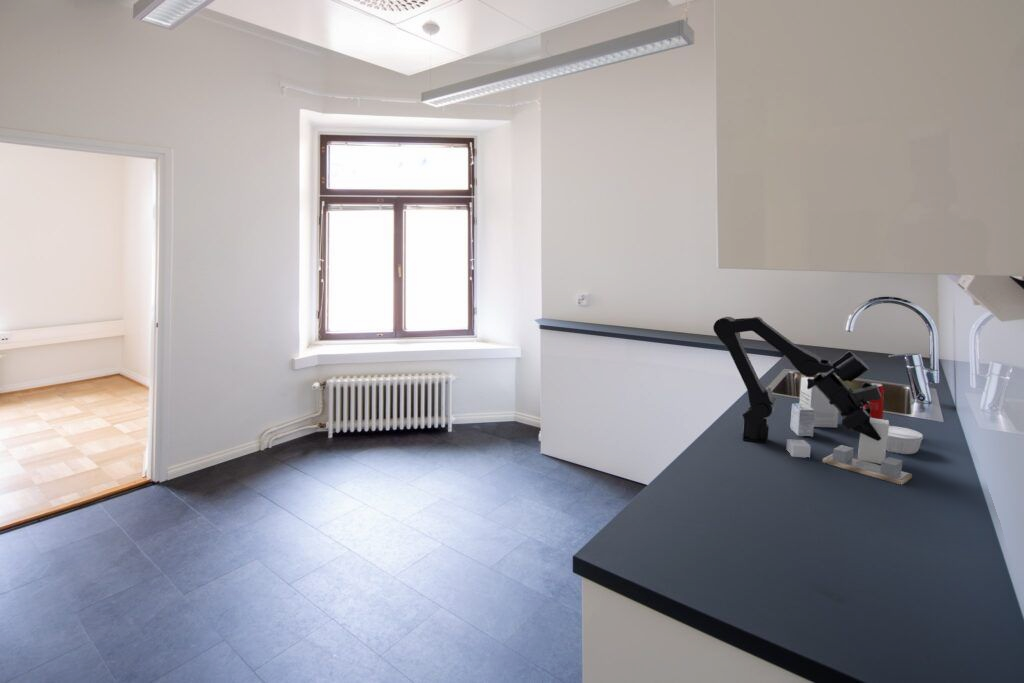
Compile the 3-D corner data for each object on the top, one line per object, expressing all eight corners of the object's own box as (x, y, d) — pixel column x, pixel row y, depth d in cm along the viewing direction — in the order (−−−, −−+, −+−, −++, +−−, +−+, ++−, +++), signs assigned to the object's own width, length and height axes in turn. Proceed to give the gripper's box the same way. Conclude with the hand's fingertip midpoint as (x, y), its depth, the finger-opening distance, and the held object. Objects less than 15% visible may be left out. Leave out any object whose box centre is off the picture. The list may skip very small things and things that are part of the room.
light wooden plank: (825, 458, 140) (825, 458, 140) (835, 454, 144) (835, 453, 144) (900, 479, 127) (900, 479, 127) (908, 473, 130) (909, 473, 130)
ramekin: (890, 455, 145) (892, 437, 145) (864, 442, 156) (866, 425, 156) (931, 456, 145) (933, 438, 144) (902, 442, 156) (904, 425, 155)
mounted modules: (832, 459, 139) (833, 448, 139) (840, 455, 142) (841, 444, 142) (894, 476, 128) (895, 465, 128) (901, 471, 131) (902, 460, 131)
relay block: (792, 457, 145) (793, 445, 144) (786, 450, 149) (787, 439, 149) (809, 458, 144) (810, 446, 143) (802, 451, 149) (804, 440, 148)
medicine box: (813, 437, 160) (815, 410, 159) (797, 436, 161) (800, 409, 160) (804, 429, 168) (806, 403, 167) (789, 428, 169) (791, 402, 167)
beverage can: (886, 432, 165) (891, 386, 163) (865, 431, 165) (870, 386, 163) (873, 426, 171) (878, 381, 169) (853, 426, 171) (858, 381, 169)
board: (822, 462, 140) (822, 458, 140) (833, 456, 145) (833, 453, 144) (901, 485, 126) (902, 481, 126) (911, 477, 130) (912, 474, 130)
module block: (857, 459, 142) (861, 421, 140) (857, 454, 146) (862, 416, 144) (884, 464, 139) (889, 425, 137) (884, 458, 143) (888, 420, 141)
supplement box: (825, 420, 178) (829, 377, 176) (837, 428, 169) (842, 383, 167) (797, 418, 179) (800, 376, 177) (808, 427, 170) (812, 382, 168)
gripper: (861, 380, 133) (910, 429, 129) (863, 368, 149) (906, 412, 144) (823, 405, 139) (868, 453, 135) (828, 391, 154) (869, 434, 150)
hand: (879, 437), depth 141 cm, fingers closed on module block, 5 cm apart
